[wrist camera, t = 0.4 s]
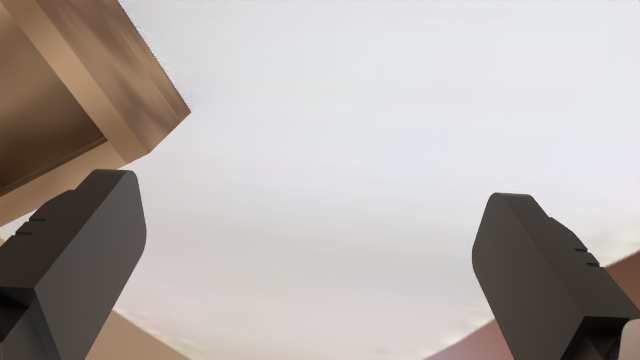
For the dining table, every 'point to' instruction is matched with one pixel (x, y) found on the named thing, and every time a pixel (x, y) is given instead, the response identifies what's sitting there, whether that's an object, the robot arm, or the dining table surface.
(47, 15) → the open wooden box
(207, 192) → the dining table surface
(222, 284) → the dining table surface
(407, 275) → the dining table surface
